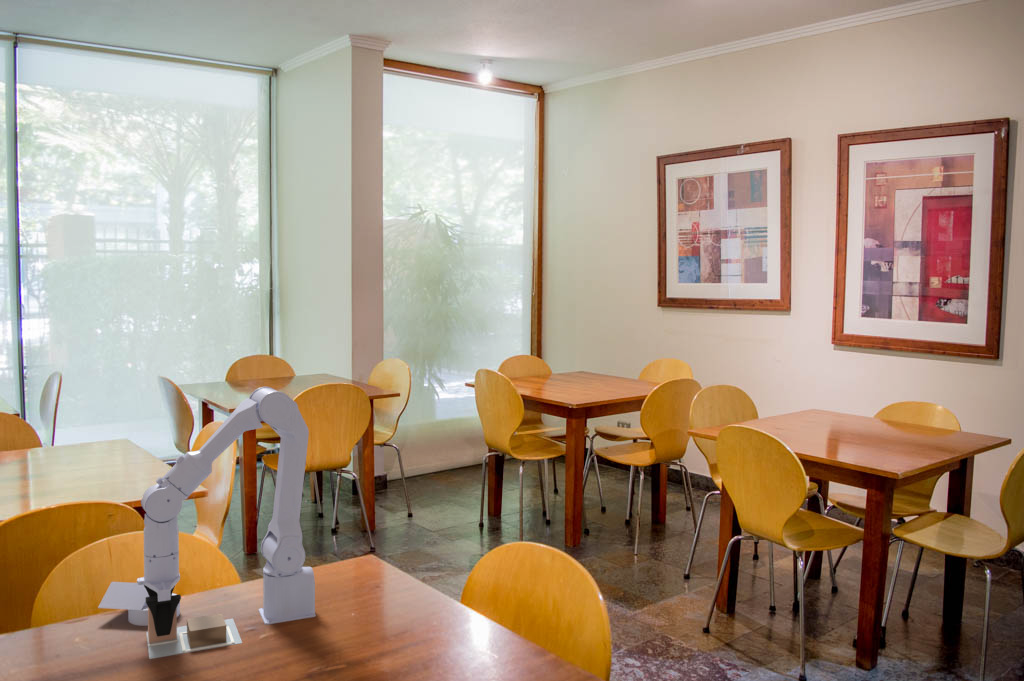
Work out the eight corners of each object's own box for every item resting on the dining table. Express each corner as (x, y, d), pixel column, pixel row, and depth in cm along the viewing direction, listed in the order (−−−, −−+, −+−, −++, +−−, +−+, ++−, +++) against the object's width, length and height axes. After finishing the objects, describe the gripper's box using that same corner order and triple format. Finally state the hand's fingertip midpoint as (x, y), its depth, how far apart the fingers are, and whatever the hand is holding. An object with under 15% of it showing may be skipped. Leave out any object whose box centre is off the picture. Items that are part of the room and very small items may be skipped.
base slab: (222, 629, 149) (221, 613, 149) (226, 642, 143) (226, 625, 143) (186, 635, 146) (186, 618, 146) (189, 648, 141) (189, 631, 140)
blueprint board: (233, 620, 154) (232, 617, 154) (242, 645, 143) (242, 642, 143) (146, 634, 147) (146, 631, 147) (149, 661, 136) (149, 657, 136)
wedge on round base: (98, 625, 151) (164, 629, 150) (97, 590, 151) (164, 593, 149) (125, 607, 160) (188, 610, 159) (125, 573, 159) (188, 576, 158)
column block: (174, 629, 149) (174, 597, 148) (176, 638, 145) (176, 605, 144) (148, 633, 147) (147, 600, 146) (149, 642, 143) (148, 609, 142)
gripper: (135, 543, 149) (136, 616, 150) (138, 567, 136) (139, 646, 137) (176, 539, 153) (177, 610, 153) (183, 562, 140) (183, 639, 140)
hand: (162, 627), depth 145 cm, fingers open, 7 cm apart
